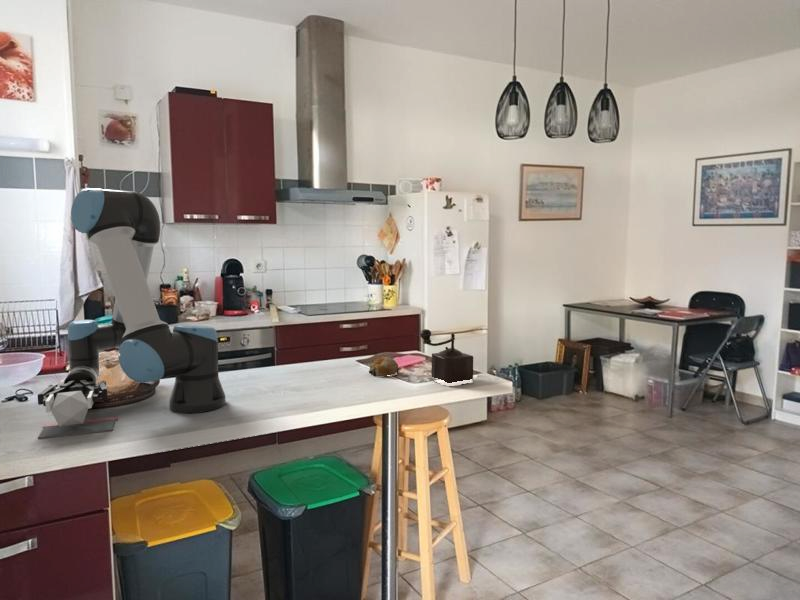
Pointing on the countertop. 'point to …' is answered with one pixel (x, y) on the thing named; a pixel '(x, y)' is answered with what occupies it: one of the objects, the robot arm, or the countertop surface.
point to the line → (84, 421)
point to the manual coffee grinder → (449, 361)
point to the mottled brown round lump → (383, 367)
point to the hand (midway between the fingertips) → (68, 404)
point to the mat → (77, 429)
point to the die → (69, 408)
